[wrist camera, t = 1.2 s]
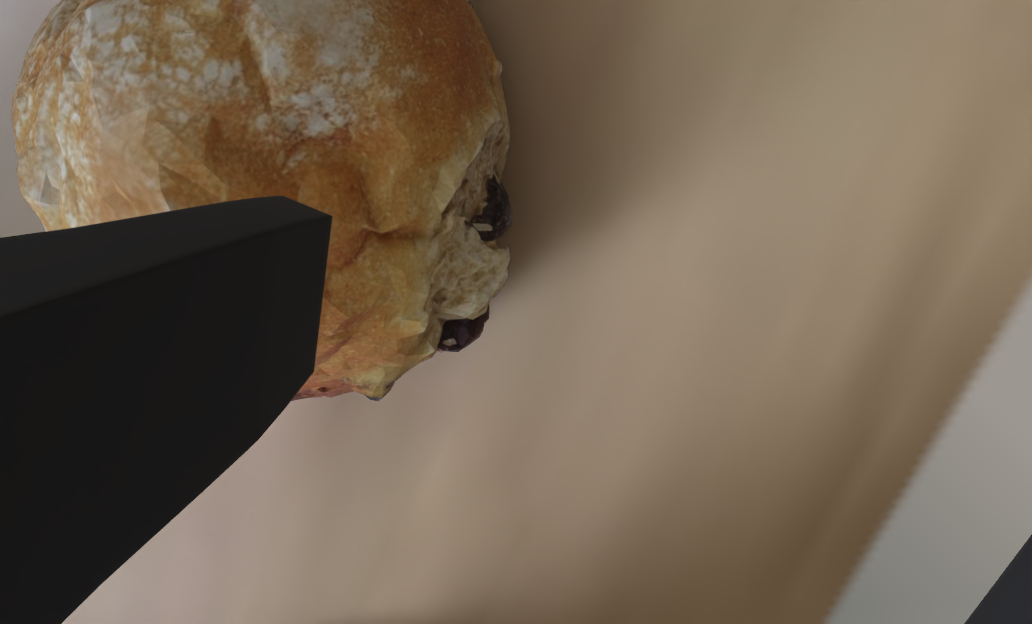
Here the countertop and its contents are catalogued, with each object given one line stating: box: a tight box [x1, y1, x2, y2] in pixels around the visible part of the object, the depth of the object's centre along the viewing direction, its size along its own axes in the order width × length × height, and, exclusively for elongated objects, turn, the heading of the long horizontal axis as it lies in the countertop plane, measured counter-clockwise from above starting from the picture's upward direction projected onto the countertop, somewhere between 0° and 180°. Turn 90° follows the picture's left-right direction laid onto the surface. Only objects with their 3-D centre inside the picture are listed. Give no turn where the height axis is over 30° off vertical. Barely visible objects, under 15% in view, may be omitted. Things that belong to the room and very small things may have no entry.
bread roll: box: [12, 0, 512, 401], centre depth 18 cm, size 10×10×8 cm
